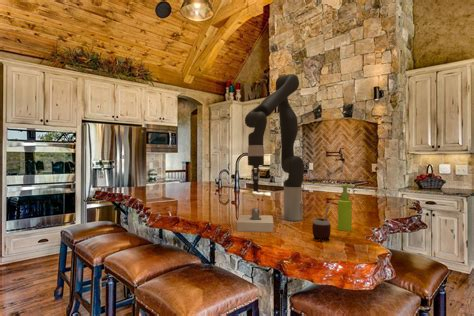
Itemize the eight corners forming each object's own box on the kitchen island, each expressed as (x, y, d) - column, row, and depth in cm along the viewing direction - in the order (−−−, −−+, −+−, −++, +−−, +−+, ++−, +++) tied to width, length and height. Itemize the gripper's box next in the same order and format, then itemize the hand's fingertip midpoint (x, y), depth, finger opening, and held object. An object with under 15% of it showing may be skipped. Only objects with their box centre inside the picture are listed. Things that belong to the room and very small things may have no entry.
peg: (259, 226, 138) (259, 208, 138) (259, 228, 135) (259, 209, 135) (251, 226, 139) (251, 208, 139) (251, 228, 135) (251, 209, 135)
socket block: (272, 223, 144) (272, 215, 144) (273, 232, 128) (273, 223, 128) (239, 222, 146) (239, 214, 146) (236, 231, 130) (236, 222, 130)
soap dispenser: (352, 232, 129) (352, 186, 129) (336, 229, 133) (336, 185, 133) (355, 229, 134) (355, 185, 134) (339, 227, 138) (339, 184, 138)
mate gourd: (311, 241, 115) (311, 202, 115) (313, 235, 123) (313, 200, 123) (331, 243, 113) (331, 204, 113) (332, 237, 120) (332, 201, 120)
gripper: (264, 155, 129) (264, 192, 129) (263, 155, 143) (263, 188, 144) (247, 155, 130) (247, 191, 130) (248, 155, 144) (248, 188, 144)
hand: (255, 190), depth 137 cm, fingers open, 8 cm apart
